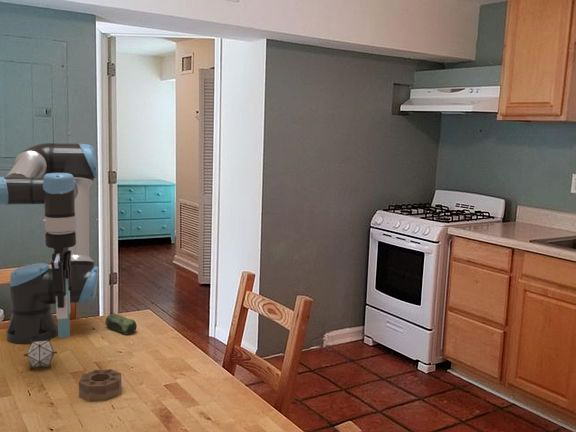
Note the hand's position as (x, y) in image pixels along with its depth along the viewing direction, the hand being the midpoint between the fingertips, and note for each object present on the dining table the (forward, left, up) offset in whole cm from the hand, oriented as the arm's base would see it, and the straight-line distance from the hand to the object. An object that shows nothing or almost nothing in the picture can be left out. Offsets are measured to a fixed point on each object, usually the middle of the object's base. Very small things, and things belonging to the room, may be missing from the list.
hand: (63, 315), depth 155 cm
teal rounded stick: (0, 0, -6) cm, 6 cm away
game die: (-7, -8, -17) cm, 20 cm away
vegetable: (-35, +11, -18) cm, 41 cm away
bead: (+11, +11, -17) cm, 23 cm away
